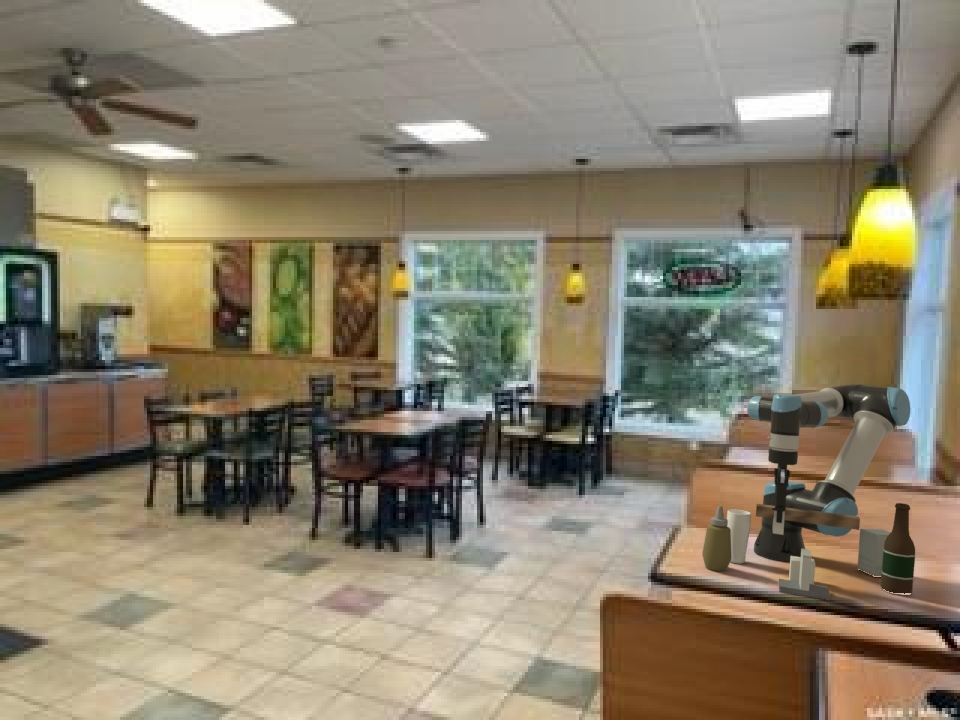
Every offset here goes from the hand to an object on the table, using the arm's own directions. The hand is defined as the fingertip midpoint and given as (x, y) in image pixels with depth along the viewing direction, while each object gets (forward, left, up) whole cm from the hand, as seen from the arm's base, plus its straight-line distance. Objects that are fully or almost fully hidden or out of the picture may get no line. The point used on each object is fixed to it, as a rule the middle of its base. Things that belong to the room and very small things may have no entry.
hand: (777, 532), depth 201 cm
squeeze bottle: (+9, -13, -13) cm, 20 cm away
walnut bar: (-3, +6, +4) cm, 8 cm away
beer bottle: (-20, +24, -13) cm, 34 cm away
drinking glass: (-3, -14, -13) cm, 19 cm away
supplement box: (-32, +14, -13) cm, 37 cm away
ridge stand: (+5, +11, -13) cm, 18 cm away
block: (-3, +6, -13) cm, 14 cm away
